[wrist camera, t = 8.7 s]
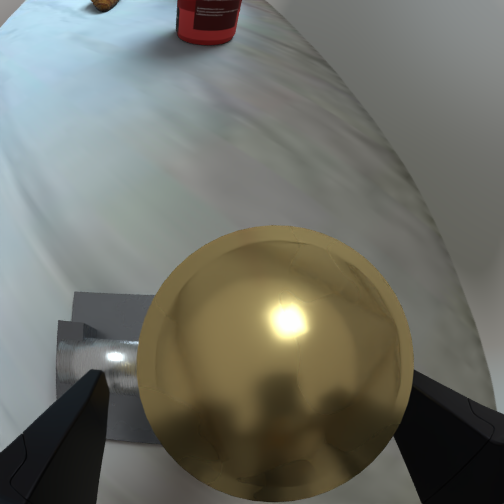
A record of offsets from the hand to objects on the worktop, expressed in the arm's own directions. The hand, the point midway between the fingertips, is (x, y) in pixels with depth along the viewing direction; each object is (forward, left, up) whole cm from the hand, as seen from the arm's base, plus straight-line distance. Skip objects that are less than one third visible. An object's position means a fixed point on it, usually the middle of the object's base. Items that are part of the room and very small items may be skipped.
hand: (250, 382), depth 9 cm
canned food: (+37, +10, -9) cm, 40 cm away
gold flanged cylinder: (0, 0, -8) cm, 9 cm away
